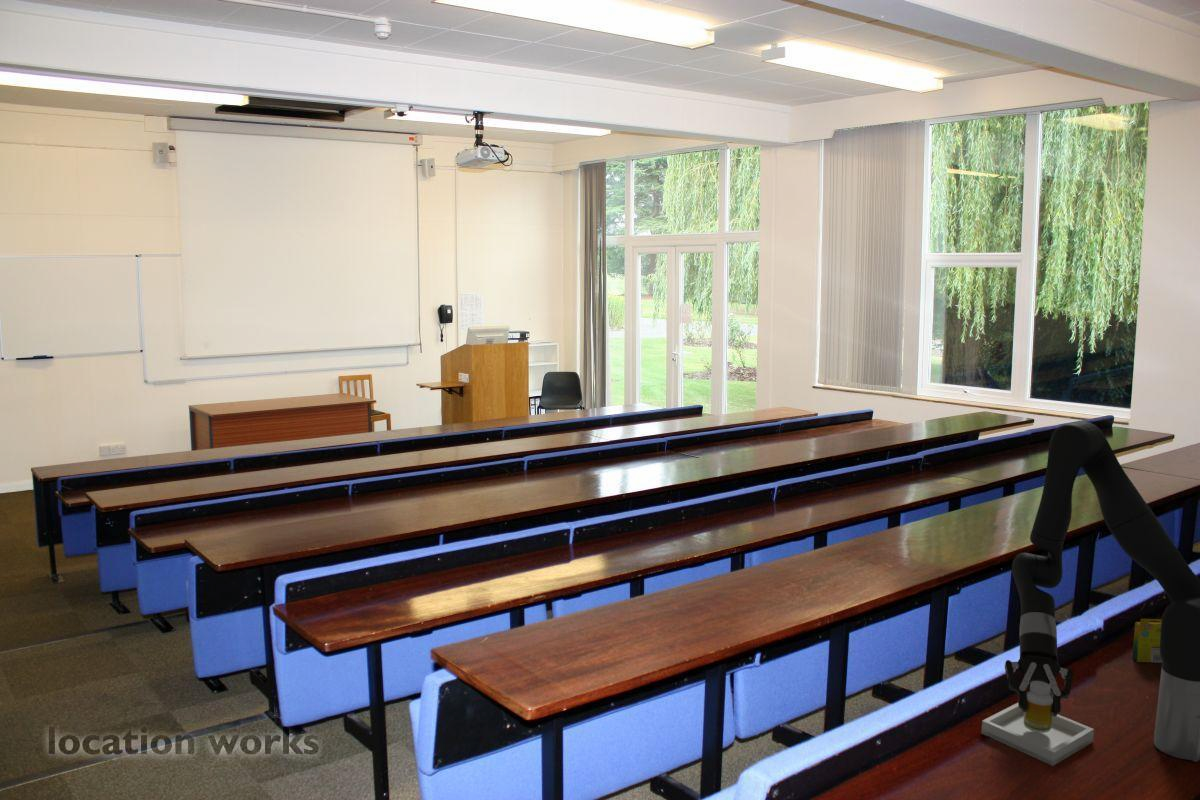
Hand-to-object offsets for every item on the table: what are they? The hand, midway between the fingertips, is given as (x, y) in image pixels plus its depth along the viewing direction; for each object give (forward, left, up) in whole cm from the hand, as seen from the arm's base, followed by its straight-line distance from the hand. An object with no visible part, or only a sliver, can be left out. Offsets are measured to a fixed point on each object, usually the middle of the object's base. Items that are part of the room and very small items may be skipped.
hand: (1039, 712), depth 201 cm
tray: (+1, -1, -7) cm, 7 cm away
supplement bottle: (+1, -1, -4) cm, 5 cm away
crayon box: (+5, -61, -7) cm, 62 cm away
